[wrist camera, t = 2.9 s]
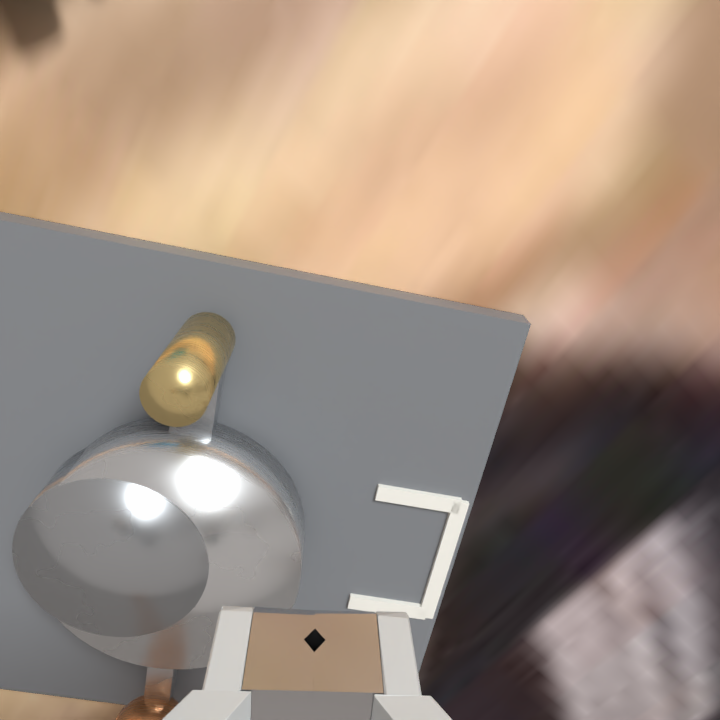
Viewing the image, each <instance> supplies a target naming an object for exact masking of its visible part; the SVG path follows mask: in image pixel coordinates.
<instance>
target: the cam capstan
mask: <svg viewBox="0 0 720 720" xmlns="http://www.w3.org/2000/svg"><path fill="white" fill-rule="evenodd" d="M235 341H236V338H235V332H234V330H233V328H232V326H231V324H230V323H229V322H228V321H227V320H226V319H225V318H223V317H222V316H220V315H218V314H215V313H212V312H201V313H197V314H194V315H193V316H191V317H190V318H188V319H187V320H186V322H185V323H184V324H183V326H182V327H181V328H180V330H179V331H178V332H177V334H176V335H175V337H174V338H173V339H172V341H171V342H170V343H169V345H168V346H167V347H166V349H165V350H164V351H163V353H162V354H161V356H160V357H159V358H158V360H157V361H156V362H155V364H154V365H153V366H152V368H151V369H150V370H149V372H148V373H147V375H146V376H145V377H144V379H143V380H142V382H141V385H140V390H139V396H140V401H141V404H142V406H143V408H144V410H145V411H146V412H147V414H148V415H149V416H150V418H144V419H140V420H136V421H132V422H129V423H127V424H124V425H121V426H119V427H116V428H114V429H113V430H111V431H109V432H107V433H105V434H104V435H102V436H101V437H99V438H98V439H97V440H95V441H94V442H93V443H91V444H90V445H89V446H88V447H87V448H84V449H83V450H81V451H79V452H77V453H75V454H74V455H73V456H71V457H70V458H69V459H68V460H66V461H65V462H64V464H63V465H62V466H61V467H60V468H59V469H58V470H57V472H56V473H55V474H54V475H53V477H52V478H51V479H50V480H49V482H48V483H47V484H46V486H45V487H44V488H43V489H42V491H41V492H40V493H39V494H38V496H37V497H36V498H35V500H34V501H33V502H32V503H31V505H30V506H29V507H28V508H27V510H26V511H25V513H24V514H23V515H22V517H21V518H20V520H19V522H18V524H17V526H16V529H15V533H14V536H13V543H12V555H13V562H14V566H15V570H16V572H17V575H18V577H19V579H20V581H21V583H22V585H23V586H24V588H25V590H26V591H27V592H28V594H29V595H30V596H31V597H32V598H33V600H34V601H35V602H36V603H37V604H38V605H39V606H40V607H42V608H43V609H44V610H45V611H47V612H48V613H49V614H51V615H52V616H54V617H55V618H57V619H58V620H59V621H60V622H61V623H62V624H63V625H64V626H65V627H66V628H67V629H68V630H69V631H71V632H72V633H73V634H74V635H75V636H77V637H78V638H79V639H81V640H82V641H84V642H85V643H87V644H88V645H90V646H92V647H93V648H95V649H97V650H99V651H101V652H103V653H105V654H107V655H110V656H112V657H115V658H117V659H120V660H122V661H126V662H129V663H133V664H136V665H141V666H146V667H147V675H146V684H145V692H144V695H142V696H139V697H137V698H136V699H134V700H132V701H131V702H130V703H129V704H127V705H126V706H125V707H124V708H123V710H122V711H121V712H120V713H119V715H118V716H117V718H116V720H162V719H163V718H164V717H165V716H166V715H167V714H168V713H169V712H170V711H171V710H172V709H173V708H174V707H175V706H176V705H177V704H178V703H179V702H178V701H177V700H175V699H174V698H173V694H174V687H175V679H176V672H177V669H195V668H204V667H207V666H208V661H209V657H210V652H211V648H212V643H213V639H214V634H215V630H216V625H217V621H218V616H219V612H220V610H221V608H222V606H223V605H224V606H239V607H253V608H255V607H268V608H284V609H292V607H293V605H294V603H295V600H296V597H297V593H298V590H299V584H300V577H301V567H302V556H303V545H304V534H305V516H304V511H303V505H302V502H301V499H300V496H299V493H298V490H297V488H296V486H295V484H294V482H293V480H292V478H291V477H290V475H289V474H288V473H287V471H286V470H285V468H284V467H283V465H282V464H281V463H280V462H279V461H278V460H277V459H276V458H275V457H274V456H273V455H272V454H271V453H270V452H269V451H268V450H267V449H265V448H264V447H263V446H262V445H261V444H259V443H258V442H256V441H255V440H253V439H252V438H250V437H248V436H247V435H245V434H243V433H241V432H239V431H237V430H235V429H233V428H231V427H228V426H225V425H223V424H220V423H217V420H218V413H219V406H220V399H221V392H222V385H223V378H224V371H225V367H226V365H227V362H228V360H229V358H230V356H231V354H232V351H233V349H234V347H235Z"/></svg>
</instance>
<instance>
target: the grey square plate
mask: <svg viewBox="0 0 720 720" xmlns="http://www.w3.org/2000/svg"><path fill="white" fill-rule="evenodd" d="M201 312H212V313H215V314H218V315H220V316H222V317H223V318H225V319H226V320H227V321H228V322H229V323H230V324H231V326H232V328H233V330H234V332H235V338H236V341H235V347H234V349H233V351H232V354H231V356H230V358H229V360H228V362H227V365H226V367H225V371H224V378H223V385H222V392H221V399H220V406H219V413H218V420H217V423H220V424H223V425H225V426H228V427H231V428H233V429H235V430H237V431H239V432H241V433H243V434H245V435H247V436H248V437H250V438H252V439H253V440H255V441H256V442H258V443H259V444H261V445H262V446H263V447H264V448H265V449H267V450H268V451H269V452H270V453H271V454H272V455H273V456H274V457H275V458H276V459H277V460H278V461H279V462H280V463H281V464H282V465H283V467H284V468H285V470H286V471H287V473H288V474H289V475H290V477H291V478H292V480H293V482H294V484H295V486H296V488H297V490H298V493H299V496H300V499H301V502H302V505H303V511H304V516H305V534H304V545H303V556H302V567H301V577H300V584H299V590H298V593H297V597H296V600H295V603H294V605H293V607H292V609H301V610H329V611H367V612H375V613H376V611H384V612H406V613H407V615H408V616H409V621H410V627H411V633H412V639H413V646H414V652H415V658H416V664H417V671H418V673H419V670H420V667H421V664H422V660H423V657H424V654H425V651H426V648H427V645H428V642H429V639H430V636H431V632H432V629H433V626H434V623H435V620H436V617H437V614H438V611H439V608H440V605H441V601H442V598H443V595H444V592H445V589H446V586H447V583H448V580H449V577H450V573H451V570H452V567H453V564H454V561H455V558H456V555H457V552H458V549H459V545H460V542H461V539H462V536H463V533H464V530H465V527H466V524H467V521H468V518H469V514H470V511H471V508H472V505H473V502H474V499H475V496H476V493H477V490H478V486H479V483H480V480H481V477H482V474H483V471H484V468H485V465H486V462H487V458H488V455H489V452H490V449H491V446H492V443H493V440H494V437H495V434H496V431H497V427H498V424H499V421H500V418H501V415H502V412H503V409H504V406H505V403H506V399H507V396H508V393H509V390H510V387H511V384H512V381H513V378H514V375H515V371H516V368H517V365H518V362H519V359H520V356H521V353H522V350H523V347H524V344H525V340H526V337H527V334H528V331H529V328H530V325H531V324H530V323H529V322H528V320H527V319H526V318H525V317H524V316H523V315H519V314H514V313H509V312H504V311H499V310H494V309H489V308H484V307H479V306H474V305H469V304H464V303H459V302H454V301H449V300H444V299H439V298H433V297H428V296H423V295H418V294H413V293H408V292H403V291H398V290H393V289H388V288H383V287H378V286H373V285H368V284H363V283H358V282H353V281H348V280H342V279H337V278H332V277H327V276H322V275H317V274H312V273H307V272H302V271H297V270H292V269H287V268H282V267H277V266H272V265H267V264H262V263H257V262H251V261H246V260H241V259H236V258H231V257H226V256H221V255H216V254H211V253H206V252H201V251H196V250H191V249H186V248H181V247H176V246H171V245H166V244H161V243H155V242H150V241H145V240H140V239H135V238H130V237H125V236H120V235H115V234H110V233H105V232H100V231H95V230H90V229H85V228H80V227H75V226H70V225H64V224H59V223H54V222H49V221H44V220H39V219H34V218H29V217H24V216H19V215H14V214H9V213H4V212H0V689H6V690H14V691H22V692H30V693H37V694H45V695H53V696H61V697H69V698H76V699H84V700H92V701H100V702H108V703H116V704H123V705H127V704H129V703H130V702H131V701H132V700H134V699H136V698H137V697H139V696H142V695H144V692H145V684H146V675H147V667H146V666H141V665H136V664H133V663H129V662H126V661H122V660H120V659H117V658H115V657H112V656H110V655H107V654H105V653H103V652H101V651H99V650H97V649H95V648H93V647H92V646H90V645H88V644H87V643H85V642H84V641H82V640H81V639H79V638H78V637H77V636H75V635H74V634H73V633H72V632H71V631H69V630H68V629H67V628H66V627H65V626H64V625H63V624H62V623H61V622H60V621H59V620H58V619H57V618H55V617H54V616H52V615H51V614H49V613H48V612H47V611H45V610H44V609H43V608H42V607H40V606H39V605H38V604H37V603H36V602H35V601H34V600H33V598H32V597H31V596H30V595H29V594H28V592H27V591H26V590H25V588H24V586H23V585H22V583H21V581H20V579H19V577H18V575H17V572H16V570H15V566H14V562H13V555H12V543H13V536H14V533H15V529H16V526H17V524H18V522H19V520H20V518H21V517H22V515H23V514H24V513H25V511H26V510H27V508H28V507H29V506H30V505H31V503H32V502H33V501H34V500H35V498H36V497H37V496H38V494H39V493H40V492H41V491H42V489H43V488H44V487H45V486H46V484H47V483H48V482H49V480H50V479H51V478H52V477H53V475H54V474H55V473H56V472H57V470H58V469H59V468H60V467H61V466H62V465H63V464H64V462H65V461H66V460H68V459H69V458H70V457H71V456H73V455H74V454H75V453H77V452H79V451H81V450H83V449H84V448H87V447H88V446H89V445H90V444H91V443H93V442H94V441H95V440H97V439H98V438H99V437H101V436H102V435H104V434H105V433H107V432H109V431H111V430H113V429H114V428H116V427H119V426H121V425H124V424H127V423H129V422H132V421H136V420H140V419H144V418H150V416H149V415H148V414H147V412H146V411H145V410H144V408H143V406H142V404H141V401H140V396H139V390H140V385H141V382H142V380H143V379H144V377H145V376H146V375H147V373H148V372H149V370H150V369H151V368H152V366H153V365H154V364H155V362H156V361H157V360H158V358H159V357H160V356H161V354H162V353H163V351H164V350H165V349H166V347H167V346H168V345H169V343H170V342H171V341H172V339H173V338H174V337H175V335H176V334H177V332H178V331H179V330H180V328H181V327H182V326H183V324H184V323H185V322H186V320H187V319H188V318H190V317H191V316H193V315H194V314H197V313H201ZM206 670H207V667H204V668H195V669H177V672H176V679H175V687H174V694H173V698H174V699H175V700H177V701H178V702H180V701H181V700H182V699H183V698H184V697H186V696H187V695H188V694H189V693H190V692H191V691H192V690H202V688H203V684H204V679H205V675H206Z"/></svg>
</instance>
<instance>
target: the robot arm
mask: <svg viewBox="0 0 720 720" xmlns="http://www.w3.org/2000/svg"><path fill="white" fill-rule="evenodd" d="M162 720H452V719H451V718H450V717H449V716H448V714H447V713H446V712H445V711H444V710H443V709H442V708H441V707H440V706H439V704H438V703H437V702H436V701H435V700H434V699H433V698H432V697H431V696H421V689H420V683H419V677H418V671H417V664H416V658H415V652H414V646H413V639H412V633H411V627H410V621H409V616H408V615H407V613H406V612H384V611H376V613H375V612H367V611H329V610H301V609H284V608H268V607H255V608H253V607H239V606H224V605H223V606H222V608H221V610H220V612H219V616H218V621H217V625H216V630H215V634H214V639H213V643H212V648H211V652H210V657H209V661H208V666H207V670H206V675H205V679H204V684H203V688H202V690H192V691H191V692H190V693H189V694H188V695H187V696H186V697H184V698H183V699H182V700H181V701H180V702H179V703H178V704H177V705H176V706H175V707H174V708H173V709H172V710H171V711H170V712H169V713H168V714H167V715H166V716H165V717H164V718H163V719H162Z"/></svg>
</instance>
